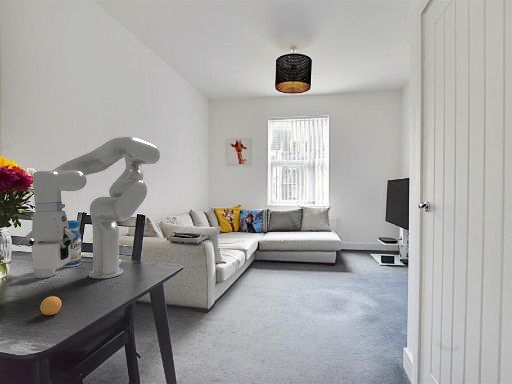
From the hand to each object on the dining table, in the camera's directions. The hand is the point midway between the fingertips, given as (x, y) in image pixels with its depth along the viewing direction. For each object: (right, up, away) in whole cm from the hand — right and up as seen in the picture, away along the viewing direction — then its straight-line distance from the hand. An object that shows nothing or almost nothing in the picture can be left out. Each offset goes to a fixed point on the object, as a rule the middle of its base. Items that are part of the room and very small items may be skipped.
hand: (52, 258), depth 104 cm
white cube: (0, -2, 0) cm, 2 cm away
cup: (-13, -11, +18) cm, 25 cm away
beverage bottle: (-14, -11, +34) cm, 39 cm away
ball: (+12, -9, -18) cm, 23 cm away
